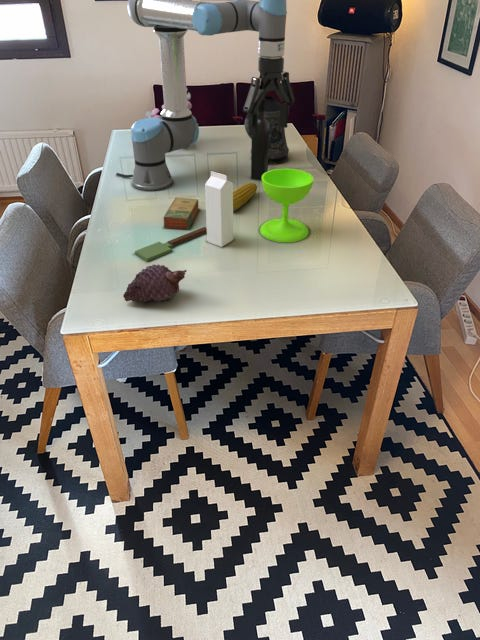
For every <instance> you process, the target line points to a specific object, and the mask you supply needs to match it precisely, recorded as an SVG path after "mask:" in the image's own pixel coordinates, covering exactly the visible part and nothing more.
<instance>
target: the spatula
mask: <svg viewBox="0 0 480 640" xmlns="http://www.w3.org/2000/svg"><path fill="white" fill-rule="evenodd" d="M205 234H207V226H203V227H200V228H198V229H196V230H193V231H190V232H187V233H185V234H181V235H180V236H178V237H175V238H173V239H170V240H167V242H164V243H162V242H161V241H157V242H154V243H152V244H149V245H146V246H144V247H141V248H139V249H137V250H135V251H134V254H135V255H136V256H138V257H139V258H141V259H142V260H144V261H145V262H147V263H148V262H150V261H152V260H155V259H158V258H160V257H163V256H164V255H167V254H170V253H172V251H173V250H172V248H174V247H176V246H178V245H180V244H183V243H185V242H188V241H190V240H193V239H195V238H198V237H200V236H203V235H205Z"/></svg>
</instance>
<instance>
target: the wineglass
mask: <svg viewBox="0 0 480 640" xmlns="http://www.w3.org/2000/svg"><path fill="white" fill-rule="evenodd" d="M261 179H262V180H261V185H262V188H263V190H264V193H265V194H266V195H267V196H268V197H269V199H271V200H272V201H273V202H276V203H278V204H280V205H282V212H281V215H282V216H281V218H273V219H270V220H268V221H266V222H264V223H263V224H262V225H261V226H260V228H259V233H260V235H261V236H262V237H263V238H264V239H267V240H269V241H271V242H275V243H276V242H277V243H296V242H299V241H302V240H304V239H306V238H307V237H308V236H309V234H310V231H309V228H308V226H307V225H306V224H304V222H301V221H299V220H296V219H293V218H289V209H290V208H289V207H290V205H294V204H296V203H298V202H300V201H302V200H304V198H306V196H308V195H309V193H310V191H311V190H312V187H313V183H314V176H313V175H312V174H311V173H309V172H308V171H304V170H301V169H296V168H286V167H285V168H274V169H271V170H268V171H267V172H265V173H264V174H263V175H262V177H261Z"/></svg>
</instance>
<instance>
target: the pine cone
mask: <svg viewBox="0 0 480 640" xmlns="http://www.w3.org/2000/svg"><path fill="white" fill-rule="evenodd" d="M186 273H187V269H184V270H174V271H172V270H171V269H169V267H167V266H165V265H164V264H162V265H161V264H155V263H154V264H152V265H149V266H146V267H145V268H142V269H141V271H140V272H138V273H136V274H135V277H134V279H133V280H132V281H131V282H130V283H128V284H127V287H126V290H125V292H124V293H123V299H124V301H125V302H130V301H131V302H133V303H135V302H137V303H139V302H144V303H145V302H149V301H150V302H152V300H154V301H156V302H161V301H166V300H169V299H170V298H173V297H174V295H176V294H178V292H179V291H180V282H181V281H182V280H184V279H185V278H186V277H185V276H186Z"/></svg>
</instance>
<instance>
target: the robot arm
mask: <svg viewBox="0 0 480 640" xmlns="http://www.w3.org/2000/svg"><path fill="white" fill-rule="evenodd" d="M127 12H128V15H129V17H130V19H131V20H132V21H133V22H134V23H135V24H136V25H138V26H140V27H144V28H153V32H154V33H155V34H156V35H157V36H158V44H159V46H158V47H159V57H160V68H161V69H160V70H161V80H162V81H161V82H162V83H161V84H162V94H163V105H164V110H163V109H162V111H160V116H161V119H159V118H145V117H144V118H141V119H139V120H137V121H135V122H133V124H132V125H131V128H130V133H131V134H130V135H131V136H130V138H131V144H132V150H133V159H134V168H133V173H132V174H124V173H120V172H116V173H115V175H116V176H119V177H122V178H132V179H131V182H132V186H133V187H134V189H137V190H141V191H151V192H152V191H160V190H164V189H166V188H168V187H170V186H171V185H172V184H173V177H172V175H171V172H170V170H169V167H168V164H167V161H166V154H169V153H172V152H175V151H179V150H180V151H181V150H184V149H188V148H189V147H192V146H193V145H195V143H196V142H197V141H198V139H199V136H200V135H199V134H200V127H199V123H198V122H197V119H196V117H195V116H194V115H193V114H192V111H191V109H188V107H187V101H188V100H187V95H188V92H186V88H187V77H186V59H185V42H184V41H185V40H184V36H185V35H186V34H187V32H188V31H195V32H196V33H198V35H200V36H209V37H210V36H214V35H220V34H227V33H229V34H230V33H236V32H244V31H245V32H246V31H251V32H256V33H257V32H258V53H257V54H258V56H259V57H258V60H257V61H258V62H257V71H258V72H259V76H258V77H255V76H252V77H251V80H250V86H249V89H248V94H247V96H246V99H245V102H244V105H243V108H242V111H243V113H246V114H248V124H249V135H252V136H255V137H256V136H257V122H258V114H256V111H257V109H258V107H259V106H260V104H261V102H262V100H263V98H264V97H266V95H267V94H268V93H271V92H272V91H275V93H276V95H277V97H278V99H279V100H280V102H281V103H282V104H281V106H280V126H281V127H284V128H285V129H287V128H288V121H289V120H288V119H289V115H290V107H292V106H293V103H295V101H296V100H295V96H294V92H293V88H292V86H291V81H290V72H289V71H284V69H285V68H284V67H285V58H284V57H283V56H284V55H285V43H286V42H285V40H286V25H287V15H288V11H287V0H259V1H257V0H232V1H225V2H210V1H199V0H127ZM252 109H253V110H252Z"/></svg>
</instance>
